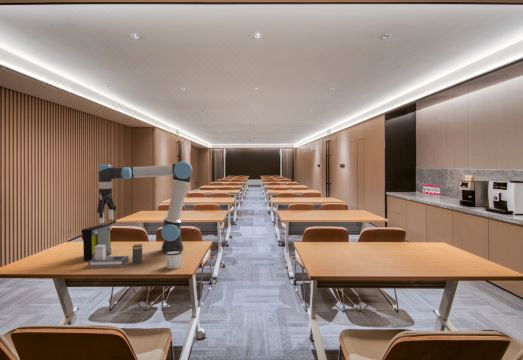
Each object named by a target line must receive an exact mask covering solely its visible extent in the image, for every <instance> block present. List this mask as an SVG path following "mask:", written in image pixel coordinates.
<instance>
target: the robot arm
mask: <svg viewBox="0 0 523 360" xmlns="http://www.w3.org/2000/svg"><path fill="white" fill-rule="evenodd" d="M97 168H98V169H97V172H98V173H97V174H98V195H100V196H99V197H98V204H97V209H96V212H97V214H98V217H99V218H98V219H99V220H98V221H99V224H105V212H104V210H105V208H106V206H107V208H108V220H114V210H115V208H116V207H115V204H114V200H113V195H112V194H113V189H112V187H113V180H124V179H125V180H126V179H127V180H128V179H129V180H130V179H135V178H153V177H154V178H155V177H157V178H158V177H169V176H170V177H172V181H173V186H172V191H171V196H170V202H169V207H168V211H167V215H166V217H164V218H163V224H162V228H161V230H160V236H161V237H162V239H163V242H162V245H161V252H162V253H165V252H167V251H170V250H180V251H184V245H183V242H182V238H181V232H182V231H181V229H182V227H181V226H182V223H183V221H182V220H181V215H182V211H183V206H184V201H185V196H186V192H187V191H186V190H187V186H188V184H190V183H191V179H192V174H193V165H191V163H190V162H189V161H186V160H185V161H184V160H180V161H178V162H177V163H171V164H169V165H150V166H149V165H148V166H127V167H126V166H124V167H122V166H120V167H113V166H112V164H99V165H98V167H97Z"/></svg>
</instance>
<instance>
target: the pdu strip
mask: <svg viewBox="0 0 523 360" xmlns="http://www.w3.org/2000/svg"><path fill="white" fill-rule="evenodd" d="M129 259H130V258H129V255H115V256H113V255H111V256H109V255H107V256H106V258H105V259H104V260H95V257H94V258H92V259H91V260H89V261H87V262H88V263H87V265H88V268H89V269H90V268H91V269H94V268H121V267H125V266H126V265H127V264H128V263H129Z"/></svg>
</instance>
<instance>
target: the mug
mask: <svg viewBox="0 0 523 360" xmlns="http://www.w3.org/2000/svg"><path fill="white" fill-rule="evenodd" d="M182 251H183V250H182ZM182 251H180V250H170V251H167V252H164V254H165V256H166V257H165V258H166V259H165V261H166V265H165V266H166V267H165V268H166V269H167V270H177V269H180V268H181V267H182V255H181V254H182V253H183V252H182Z"/></svg>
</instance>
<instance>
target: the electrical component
mask: <svg viewBox="0 0 523 360" xmlns="http://www.w3.org/2000/svg"><path fill="white" fill-rule="evenodd" d="M112 229H113V227H112V225H111V224H97V225H94V226H91V227H88V228H83V229H81V235H80V238H81V240H82V241H83V245H82V247H83V249H82V250H83V261H84V262H88V261H89V260H91V259H92V258H94V257H95V246H97V245H106V256H109V255H111V254H112V253H113V249H112V246H111V245H112V244H111V242H112V240H111V235H112V234H111V231H112Z"/></svg>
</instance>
